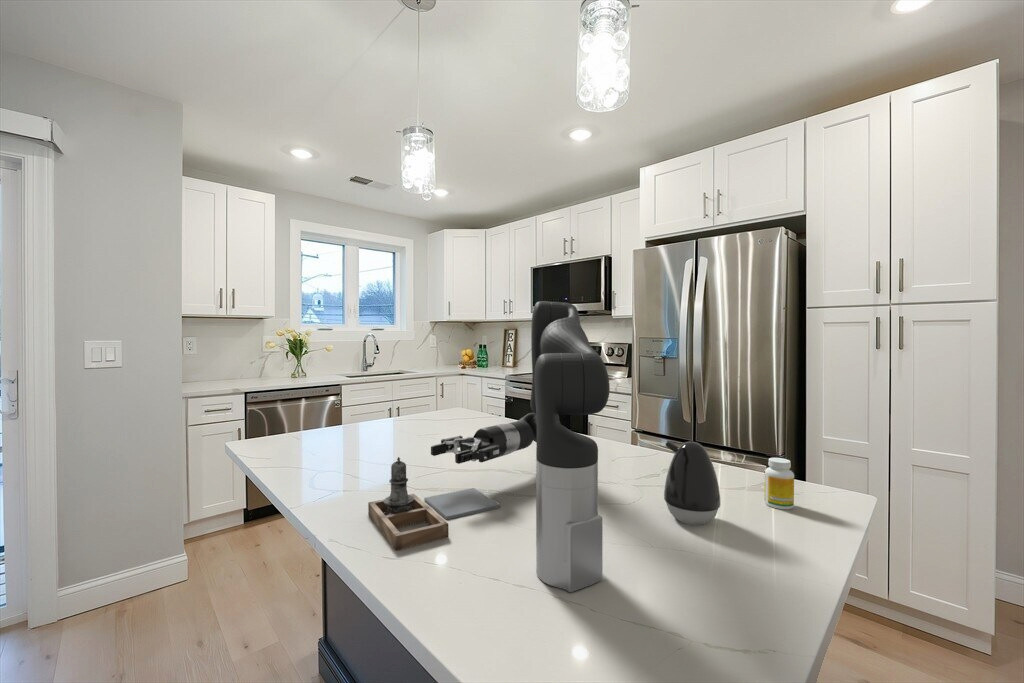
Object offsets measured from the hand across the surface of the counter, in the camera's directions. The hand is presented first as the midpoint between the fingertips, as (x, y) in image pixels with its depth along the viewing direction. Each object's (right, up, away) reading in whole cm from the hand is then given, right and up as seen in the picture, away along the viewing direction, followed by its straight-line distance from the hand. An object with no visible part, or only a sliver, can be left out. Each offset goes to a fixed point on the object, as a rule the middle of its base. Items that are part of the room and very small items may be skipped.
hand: (443, 454), depth 99 cm
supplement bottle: (+71, -10, -2) cm, 72 cm away
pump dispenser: (+50, -10, -10) cm, 52 cm away
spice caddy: (-5, -10, -12) cm, 17 cm away
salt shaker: (-8, -10, -8) cm, 15 cm away
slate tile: (+4, -10, -1) cm, 11 cm away
